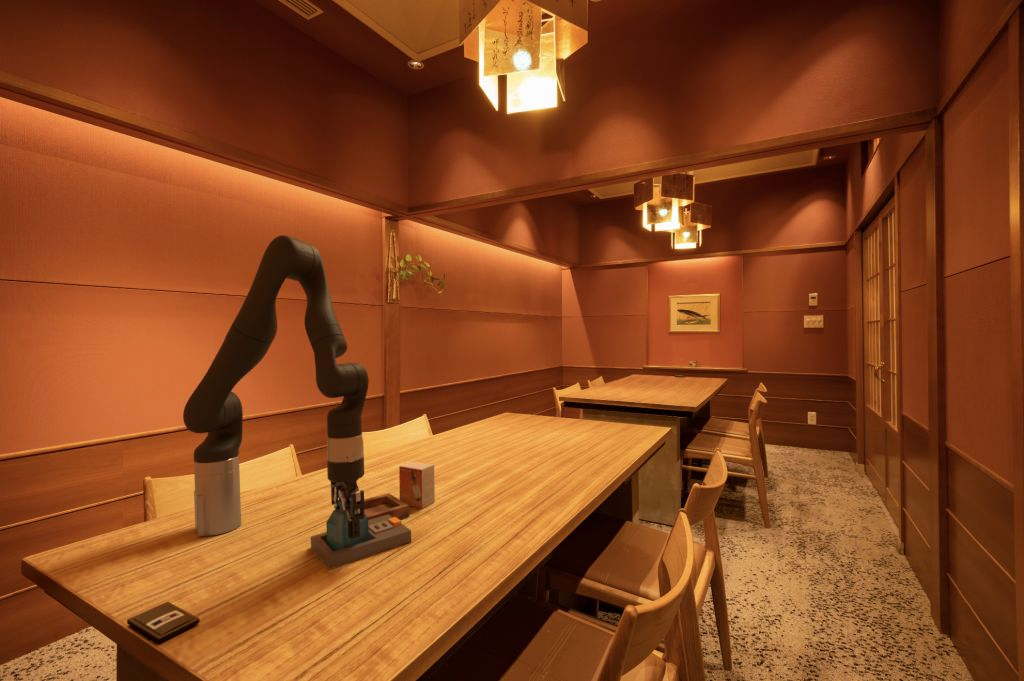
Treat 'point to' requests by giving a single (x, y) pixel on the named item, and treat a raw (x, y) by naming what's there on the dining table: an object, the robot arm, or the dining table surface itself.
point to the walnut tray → (385, 507)
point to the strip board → (381, 538)
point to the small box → (417, 484)
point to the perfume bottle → (344, 530)
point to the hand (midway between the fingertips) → (347, 531)
